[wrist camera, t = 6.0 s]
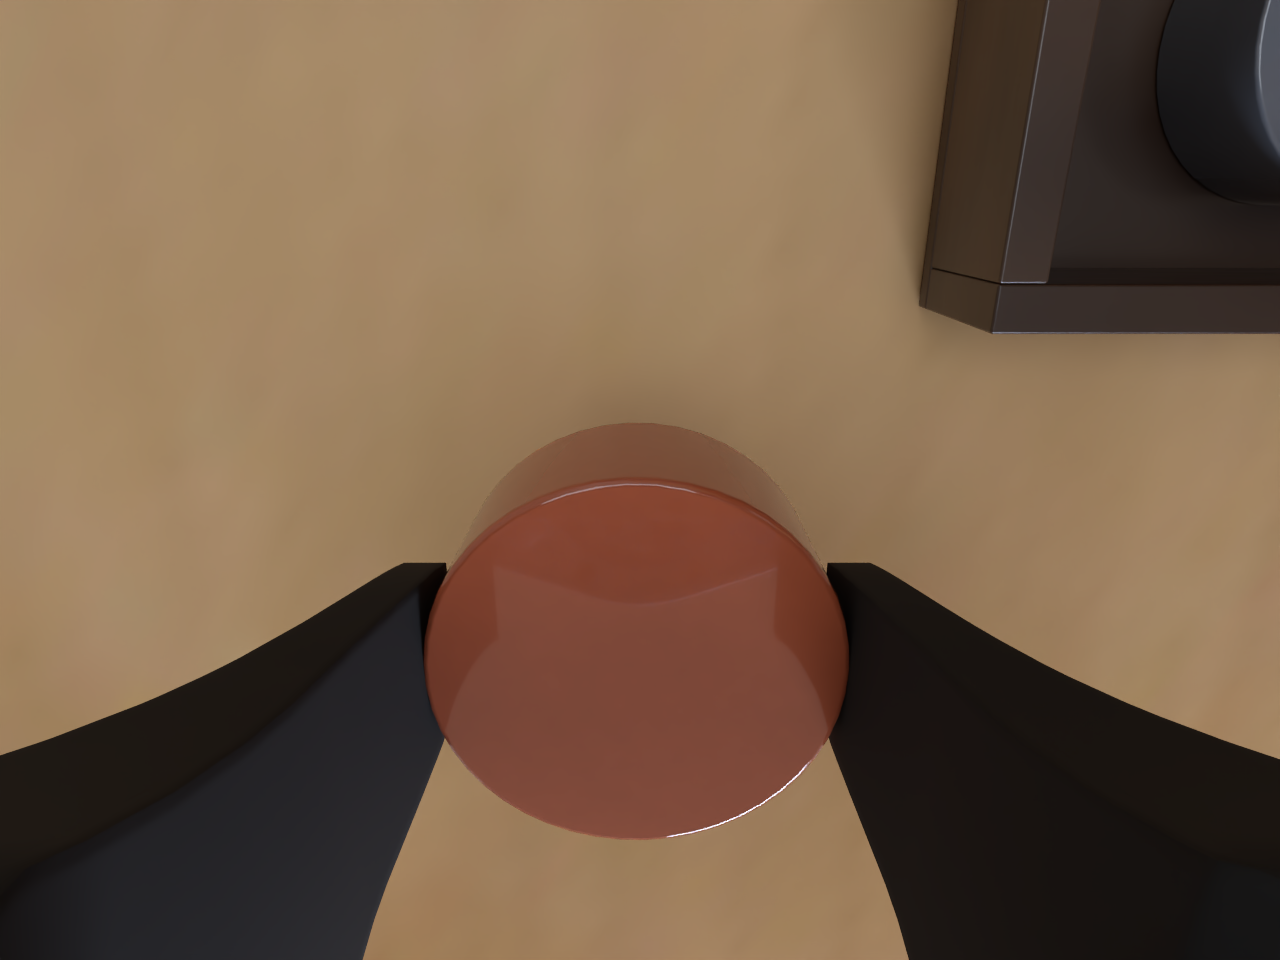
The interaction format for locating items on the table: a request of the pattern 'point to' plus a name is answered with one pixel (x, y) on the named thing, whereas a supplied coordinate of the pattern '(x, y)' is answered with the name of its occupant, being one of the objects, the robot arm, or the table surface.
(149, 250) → the table surface
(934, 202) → the dark brown tray
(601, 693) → the terracotta coaster
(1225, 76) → the gray and black puck
